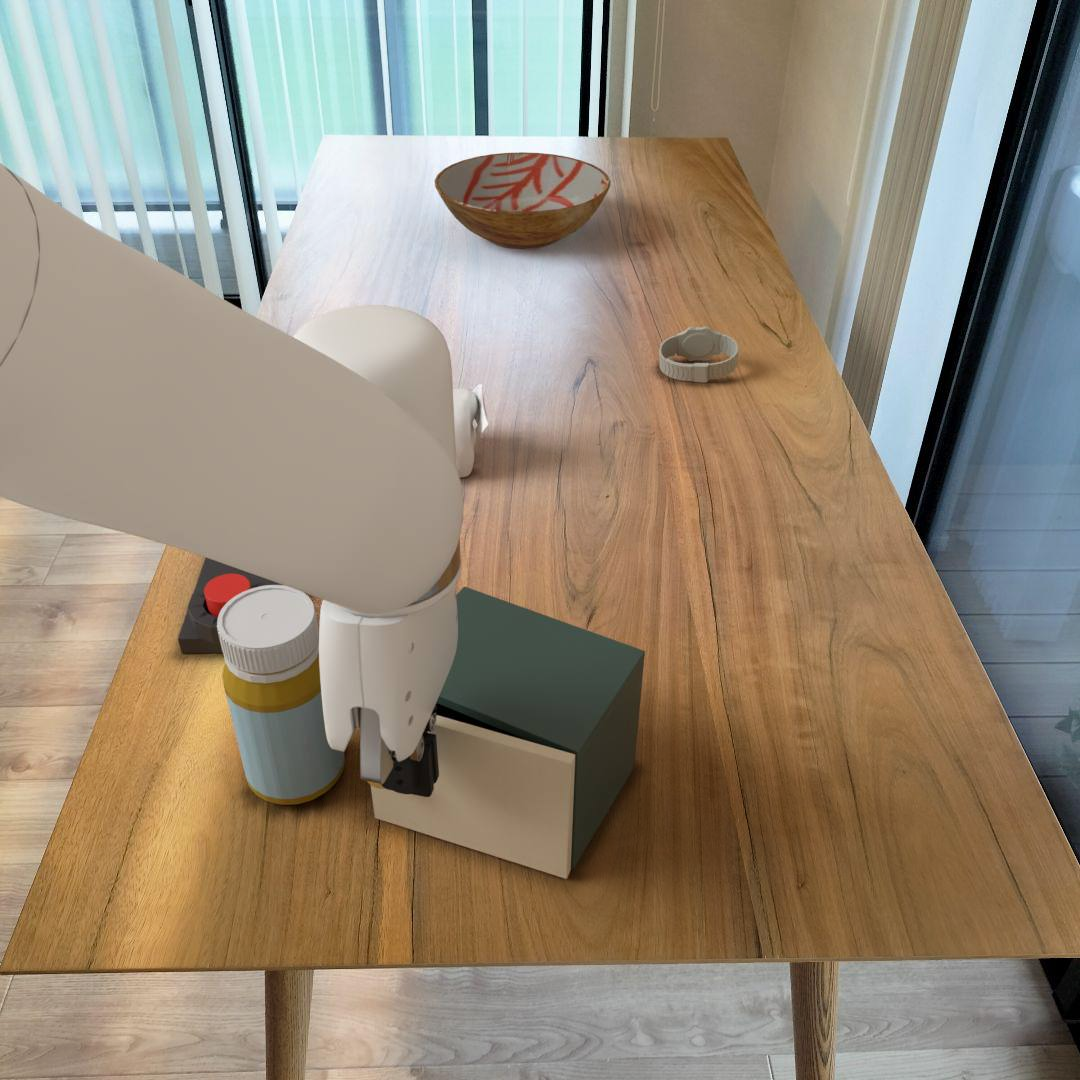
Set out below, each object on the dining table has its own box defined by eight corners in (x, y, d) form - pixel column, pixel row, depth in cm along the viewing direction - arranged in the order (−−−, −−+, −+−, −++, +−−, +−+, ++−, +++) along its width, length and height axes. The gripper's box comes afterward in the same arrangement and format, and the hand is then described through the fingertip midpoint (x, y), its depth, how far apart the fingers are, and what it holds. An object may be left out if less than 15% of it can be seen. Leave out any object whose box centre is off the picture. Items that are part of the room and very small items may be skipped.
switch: (279, 658, 87) (273, 626, 85) (179, 660, 87) (170, 628, 85) (303, 553, 98) (298, 522, 96) (214, 555, 98) (207, 523, 96)
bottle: (314, 721, 82) (287, 566, 73) (364, 777, 77) (342, 620, 68) (230, 766, 78) (190, 609, 69) (277, 827, 74) (241, 669, 65)
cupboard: (572, 870, 71) (577, 752, 64) (396, 790, 76) (383, 673, 69) (634, 767, 78) (645, 650, 71) (469, 701, 84) (464, 585, 76)
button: (249, 618, 86) (245, 601, 85) (203, 619, 86) (199, 602, 85) (256, 589, 89) (253, 573, 88) (212, 590, 89) (209, 573, 88)
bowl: (628, 261, 151) (631, 205, 146) (450, 275, 147) (448, 218, 142) (584, 198, 171) (586, 147, 166) (426, 209, 166) (423, 157, 162)
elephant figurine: (489, 427, 116) (487, 353, 110) (489, 491, 106) (487, 413, 101) (399, 429, 115) (393, 354, 110) (392, 493, 106) (385, 415, 100)
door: (559, 897, 69) (563, 781, 63) (365, 833, 73) (348, 718, 66) (570, 869, 71) (575, 754, 64) (379, 809, 75) (365, 694, 68)
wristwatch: (735, 361, 128) (740, 322, 125) (737, 387, 123) (742, 347, 120) (657, 357, 129) (660, 318, 126) (657, 383, 124) (660, 343, 121)
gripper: (369, 460, 62) (393, 688, 73) (255, 632, 50) (305, 871, 61) (495, 478, 60) (501, 707, 71) (409, 659, 49) (431, 898, 60)
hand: (410, 782), depth 66 cm, fingers closed
